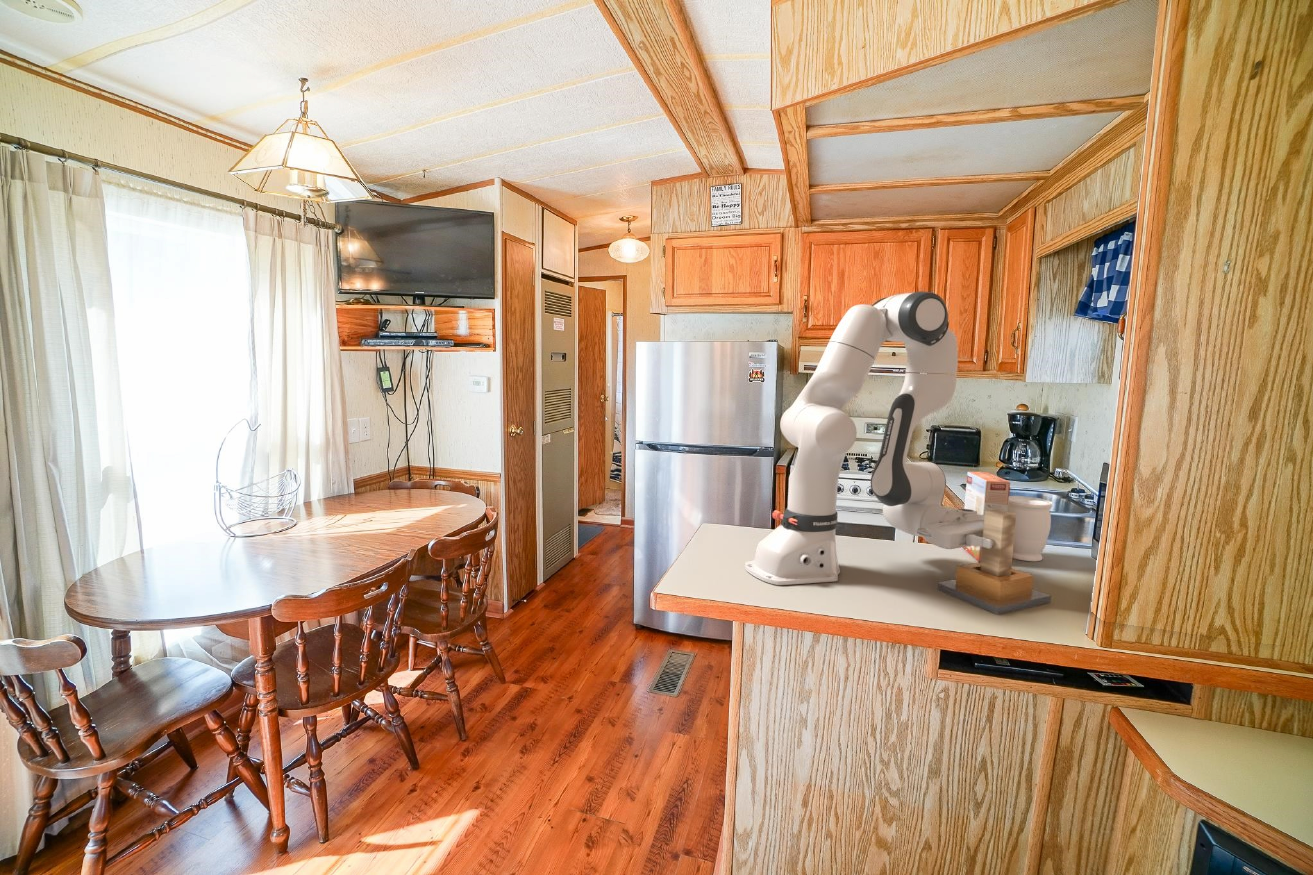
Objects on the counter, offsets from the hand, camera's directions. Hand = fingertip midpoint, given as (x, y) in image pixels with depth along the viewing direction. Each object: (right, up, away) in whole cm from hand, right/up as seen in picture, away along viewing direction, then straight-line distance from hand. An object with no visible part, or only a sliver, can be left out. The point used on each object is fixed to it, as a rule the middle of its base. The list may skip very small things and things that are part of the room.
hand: (1001, 543), depth 120 cm
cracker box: (+12, -9, +30) cm, 33 cm away
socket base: (-1, -12, +2) cm, 12 cm away
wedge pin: (0, -8, +2) cm, 8 cm away
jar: (+23, -9, +29) cm, 38 cm away
